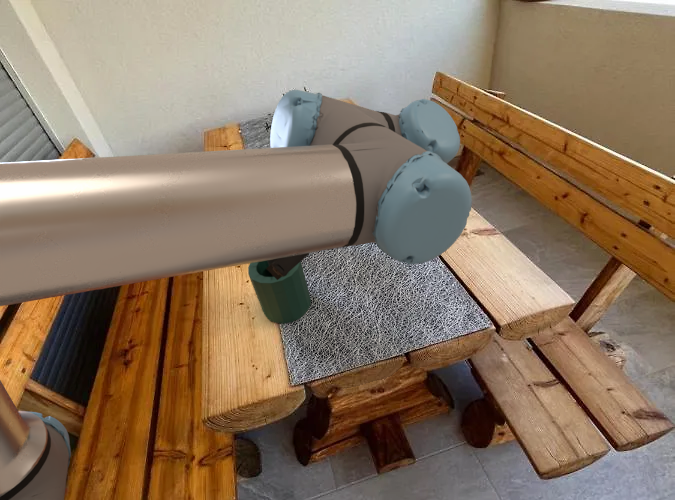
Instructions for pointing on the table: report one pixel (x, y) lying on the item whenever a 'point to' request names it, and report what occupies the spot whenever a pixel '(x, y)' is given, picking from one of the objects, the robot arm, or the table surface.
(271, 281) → the green plastic cup
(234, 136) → the table surface
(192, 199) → the robot arm
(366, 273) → the table surface
